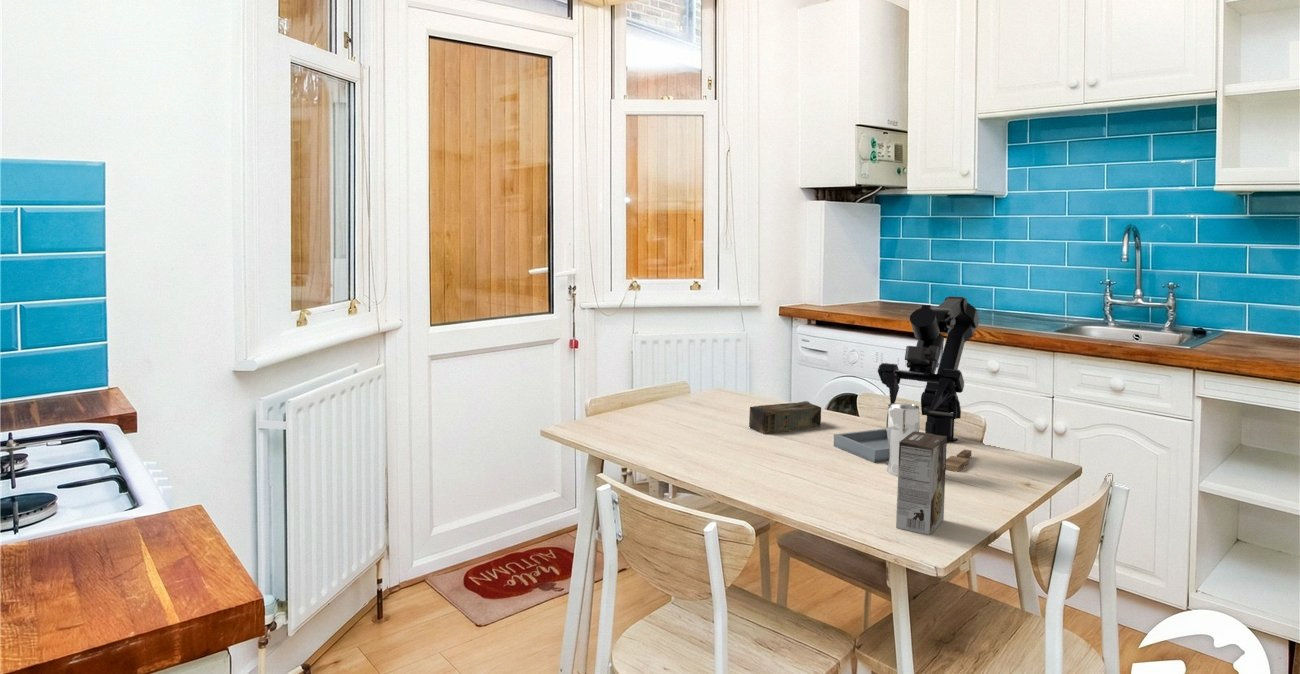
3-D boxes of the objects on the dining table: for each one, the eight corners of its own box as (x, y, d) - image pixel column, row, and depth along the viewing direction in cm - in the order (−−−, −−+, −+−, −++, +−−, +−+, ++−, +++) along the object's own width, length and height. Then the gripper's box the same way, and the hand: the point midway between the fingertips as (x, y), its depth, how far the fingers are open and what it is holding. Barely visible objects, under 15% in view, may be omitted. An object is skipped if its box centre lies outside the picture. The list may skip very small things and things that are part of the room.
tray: (885, 439, 204) (886, 428, 203) (929, 455, 189) (929, 443, 189) (833, 446, 198) (834, 434, 197) (874, 463, 183) (874, 450, 183)
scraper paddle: (959, 455, 190) (959, 448, 189) (976, 457, 187) (976, 451, 187) (939, 468, 179) (940, 461, 178) (958, 471, 176) (958, 464, 176)
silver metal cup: (919, 477, 172) (922, 410, 170) (886, 475, 173) (888, 408, 171) (915, 468, 179) (918, 403, 177) (883, 466, 180) (885, 402, 178)
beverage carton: (822, 428, 217) (823, 404, 216) (763, 435, 209) (763, 411, 208) (805, 421, 224) (805, 398, 224) (747, 429, 216) (747, 405, 216)
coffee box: (909, 513, 150) (913, 430, 148) (944, 520, 146) (948, 435, 144) (894, 528, 143) (897, 440, 141) (930, 535, 139) (934, 446, 137)
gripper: (881, 329, 188) (863, 383, 181) (963, 335, 178) (948, 392, 171) (891, 356, 196) (874, 409, 189) (970, 363, 185) (956, 420, 178)
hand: (911, 407), depth 181 cm, fingers open, 9 cm apart
